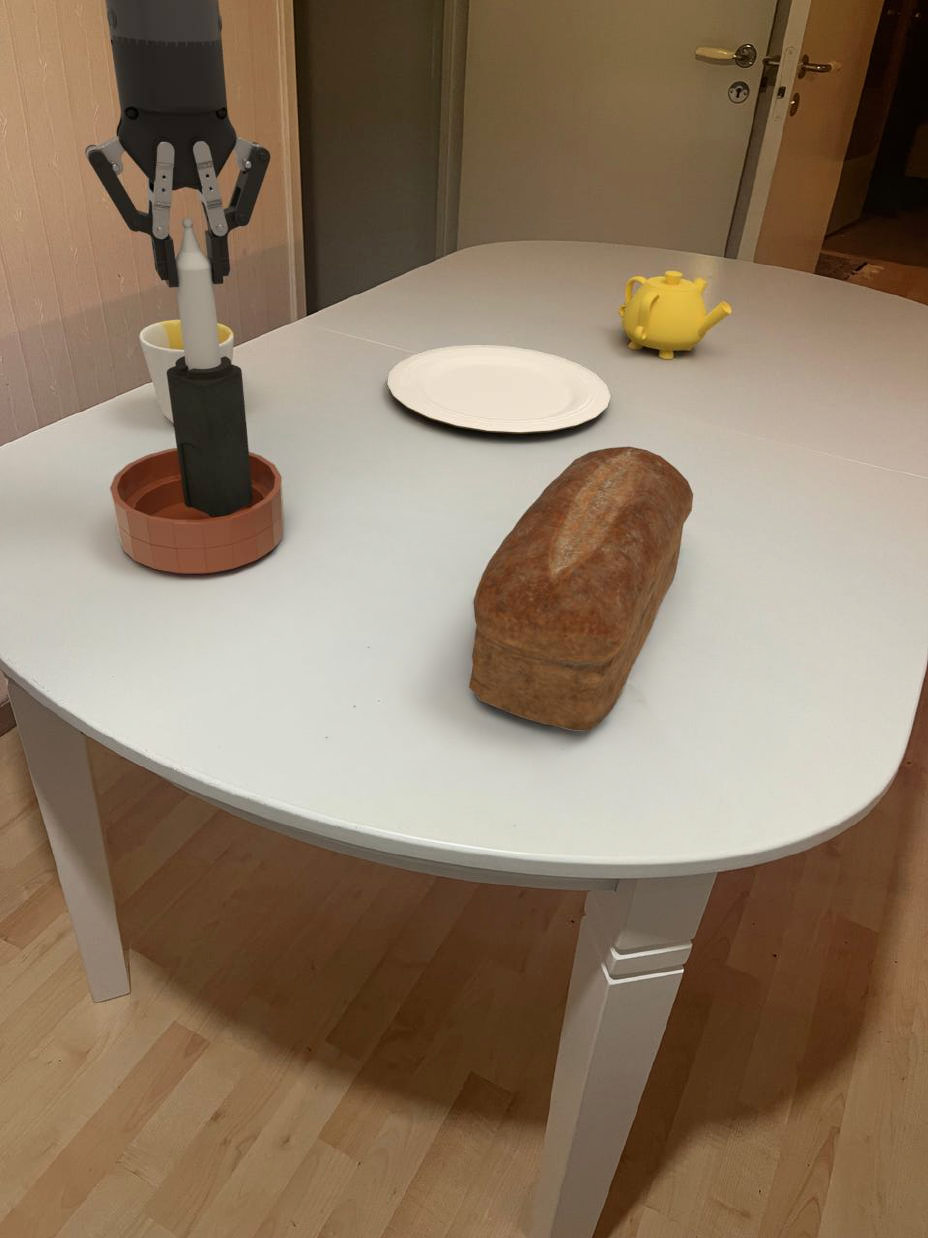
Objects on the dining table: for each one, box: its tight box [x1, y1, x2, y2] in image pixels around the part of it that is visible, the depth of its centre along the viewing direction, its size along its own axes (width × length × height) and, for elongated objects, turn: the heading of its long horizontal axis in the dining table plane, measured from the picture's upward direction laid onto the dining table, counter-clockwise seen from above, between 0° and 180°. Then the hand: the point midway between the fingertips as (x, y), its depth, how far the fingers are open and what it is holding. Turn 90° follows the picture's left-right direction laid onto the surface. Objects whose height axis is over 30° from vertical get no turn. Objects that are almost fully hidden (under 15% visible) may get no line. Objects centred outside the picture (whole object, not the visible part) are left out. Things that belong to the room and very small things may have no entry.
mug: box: [138, 318, 235, 425], centre depth 108 cm, size 14×10×10 cm
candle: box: [167, 217, 253, 518], centre depth 79 cm, size 5×5×25 cm
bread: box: [468, 446, 694, 732], centre depth 77 cm, size 12×31×14 cm, turn 157°
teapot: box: [618, 270, 732, 360], centre depth 138 cm, size 14×14×11 cm
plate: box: [387, 344, 611, 435], centre depth 121 cm, size 29×29×2 cm
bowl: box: [109, 447, 285, 575], centre depth 87 cm, size 15×15×6 cm
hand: (194, 281), depth 75 cm, fingers closed on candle, 3 cm apart
